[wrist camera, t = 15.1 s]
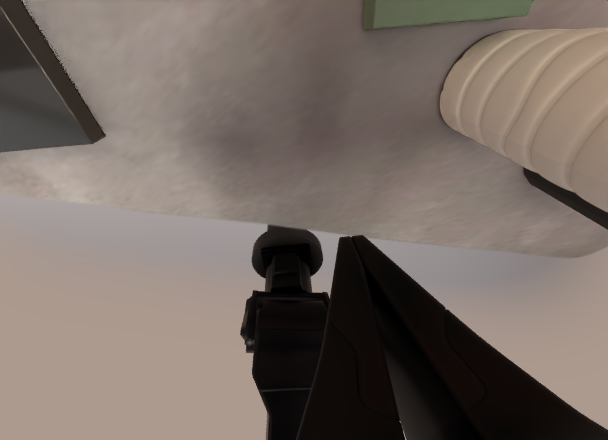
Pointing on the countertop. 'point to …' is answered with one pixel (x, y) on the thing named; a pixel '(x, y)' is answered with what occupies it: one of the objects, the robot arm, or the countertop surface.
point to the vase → (568, 198)
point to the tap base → (36, 90)
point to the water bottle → (538, 103)
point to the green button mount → (438, 11)
